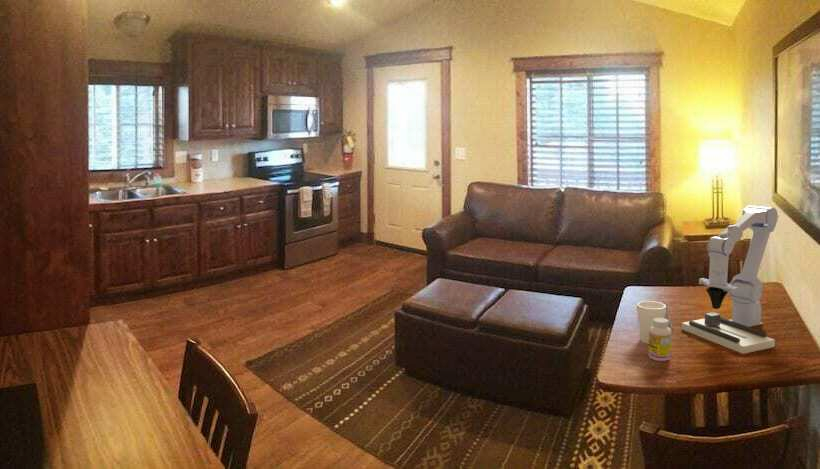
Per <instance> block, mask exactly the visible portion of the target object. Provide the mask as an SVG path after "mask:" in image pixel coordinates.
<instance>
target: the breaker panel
mask: <svg viewBox="0 0 820 469" xmlns="http://www.w3.org/2000/svg"><path fill="white" fill-rule="evenodd" d="M693 321H694V322H696V323H699V324H702V325H704V326H707V325H705V317H703V318H699V319H694V320H693ZM707 327H710V326H707ZM710 328H712V329H715V330H718V331H720V332H723V333H726V334H728V335H731V336H734V337H736V338H739V339H740V342H739V343H736V342H733V341H731V340H728V339H726V338H723V337H720V336H718V335H715V334H712V333H710V332H707V331H705V330H702V329H699V328H697V327H694V326H692V325H689V321H684V322H681V330H682V331H685V332H687V333H690V334H692V335H695V336H698V337H700V338H702V339H705V340H707V341H710V342H712V343H715V344H717V345H720V346H722V347H725V348H727V349H730V350H732V351H735V352H737V353H739V354H742V355H744V354H749V353H752V352H758V351H763V350H766V349H771V348H775V344H776V340H775V339H774V338H771V337H768V336H766V337H762V336H759V335H756V334H753V333H751V332H748V331H745V330H742V329H739V328H737V327H734V326H731V325H728V324H725V323H722V322H720V325H719V326H714V327H710Z"/></svg>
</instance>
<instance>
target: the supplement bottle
mask: <svg viewBox="0 0 820 469" xmlns="http://www.w3.org/2000/svg"><path fill="white" fill-rule="evenodd" d="M653 324H654V325H653V326H651V327H650V329H649V344H648V358H650V359H651V360H653V361H658V362H666V361H669V360H670V359H671V354H672V350H671V349H672V334H673V331H671V329H670V328H669V327H668V325H669V320H668V319H665V318H654V319H653Z"/></svg>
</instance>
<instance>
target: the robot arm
mask: <svg viewBox="0 0 820 469" xmlns="http://www.w3.org/2000/svg"><path fill="white" fill-rule="evenodd" d="M778 219H779V214H778V211H777V209H776V207H774V206H770V207H769V206H759V205H751V204H748V205H746V206H745V207H744V208H743V210H742V215H741V216H740V218H739V219H738V220H737V221H736V223H735V224H730V225H728V226H727V227H726V228H725V229H723V230H722V231H721V232H720V233H719V234H718V235H716V236H711V237H710V238H709V239H708V241H707V245H706V249H707V251H708V254H707V255H708V257H709V269H708V270H709V273H708V278H705V277H702V278H699V279H698V285H704V286H708V288H706V289H705V290H706V293H707V294H708V296H709V299H710V302H711V306H712V309H714V310H717V309H721V306H722V303H723V301H724V299H725V297H726V296H727V294H728V296H729V297H730V299H731V300H732V310H731V311H732V312H731V319H729V320H730V321H733V322H736V323H739V324H742V325H745V326H747V327H750V328H752V327H754V326H759V325H763V322H761V320H762V319H761V318H762V303H761V302H760V300H761V298H762V294H763V286H764V283H763V282H762V281H761V280H760V278H759V277H758V273H759V271H760V267H761V264H762V261H763V257H764V254H765V251H766V248H767V244H768V240H769V238H770V235H771V233H772V232H774V231H775V229H776V227H777V226H776V225H777V223H778ZM747 229H750V230H752V232H753V234H752V237H751V240H750V244H749V248H748V251H747V254H746V256H745V260H744V264H743V266H742V268H741V269H742V270H741V273H739V274H736V275H734V276H733V277H732V279H731V282H729V283H728V274H729V258H730V254H732V252H733V250H734V247H735V246H736V245H735V244H736V243H737V242H739V241H740V240H741V239H742V237H743V235H744V234H743V233H744V231H746V230H747Z"/></svg>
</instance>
